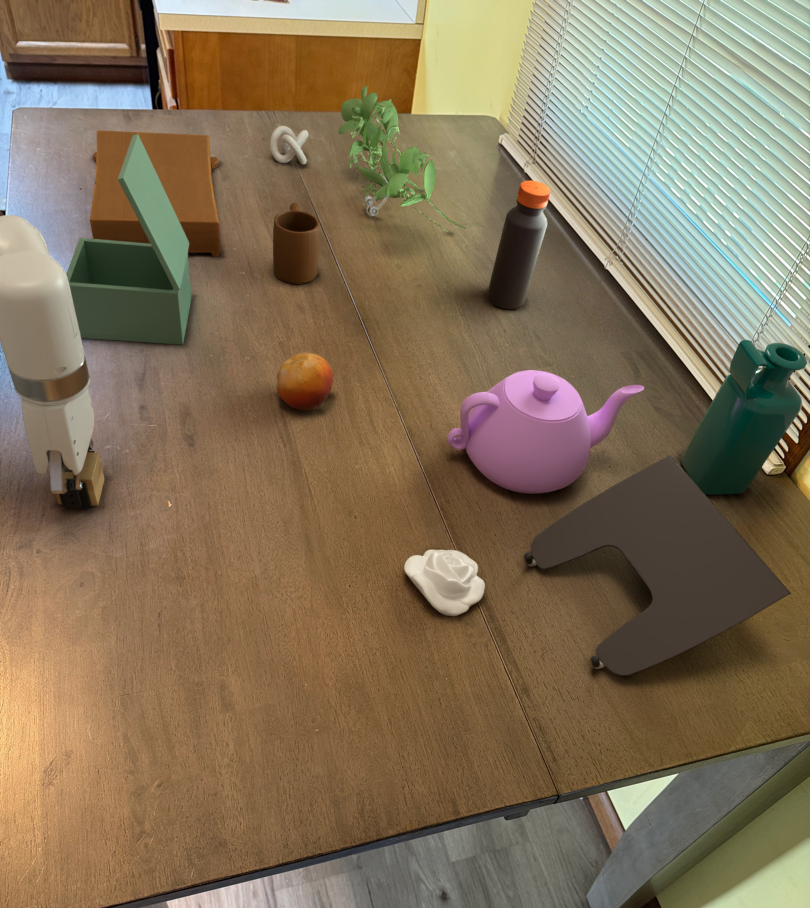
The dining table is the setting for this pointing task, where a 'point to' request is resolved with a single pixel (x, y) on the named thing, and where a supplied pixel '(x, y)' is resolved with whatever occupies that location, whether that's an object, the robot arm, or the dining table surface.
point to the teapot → (533, 431)
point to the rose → (446, 580)
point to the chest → (126, 293)
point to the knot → (288, 144)
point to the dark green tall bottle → (745, 419)
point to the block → (90, 477)
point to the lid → (154, 211)
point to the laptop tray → (665, 564)
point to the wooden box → (181, 176)
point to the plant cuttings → (385, 153)
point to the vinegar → (519, 246)
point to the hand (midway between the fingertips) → (81, 489)
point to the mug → (295, 245)
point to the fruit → (305, 381)
